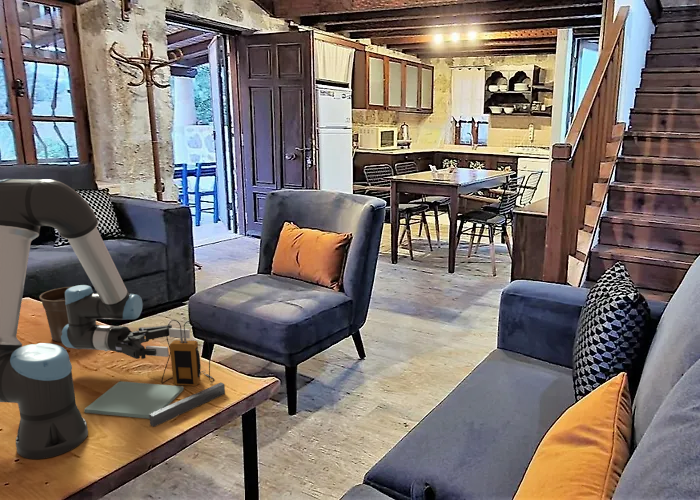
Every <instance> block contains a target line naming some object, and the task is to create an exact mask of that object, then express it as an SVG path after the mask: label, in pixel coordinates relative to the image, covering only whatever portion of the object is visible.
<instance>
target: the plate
mask: <svg viewBox="0 0 700 500" xmlns="http://www.w3.org/2000/svg"><path fill="white" fill-rule="evenodd" d="M183 391H184V385H178V386H177V385H169V384H157V383H156V384H155V383H146V382H145V383H144V382H134V381H121V380H120V381H118V382H117V383H115V384H114V385H113V386H111V387H110V388H109V389H107V391H105V392H104V393H103V394H101V395H100V396H99V397H97V399H95V400H94V401H93V402H91V403H90V404H89V405H87V406H86V407H85V408H83V409H84V410H83V411H84V414H96V415H105V416H107V415H108V416H117V417H126V418H137V419H138V418H139V419H148V420H150V418H149V414H151V413H153V412H155V411H157V410H160V409H162V408H164V407H166V406H169V405H171V404H172V402H173V401H174V400H175V399H176V398H177V397H179V395H180V394H181V393H182V392H183Z"/></svg>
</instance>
